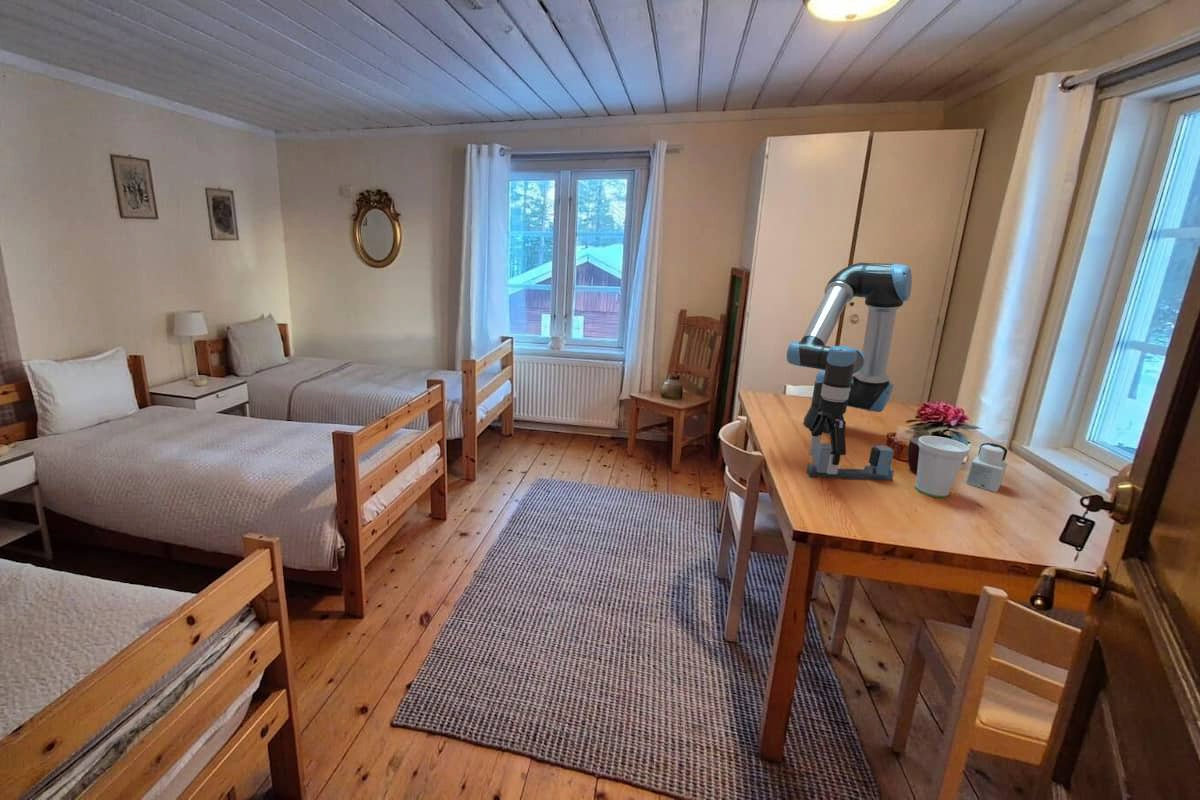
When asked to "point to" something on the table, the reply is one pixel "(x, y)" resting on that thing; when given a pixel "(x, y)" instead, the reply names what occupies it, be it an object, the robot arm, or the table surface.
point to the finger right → (821, 457)
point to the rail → (875, 471)
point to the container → (988, 467)
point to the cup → (938, 464)
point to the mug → (913, 454)
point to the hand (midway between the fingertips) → (822, 464)
